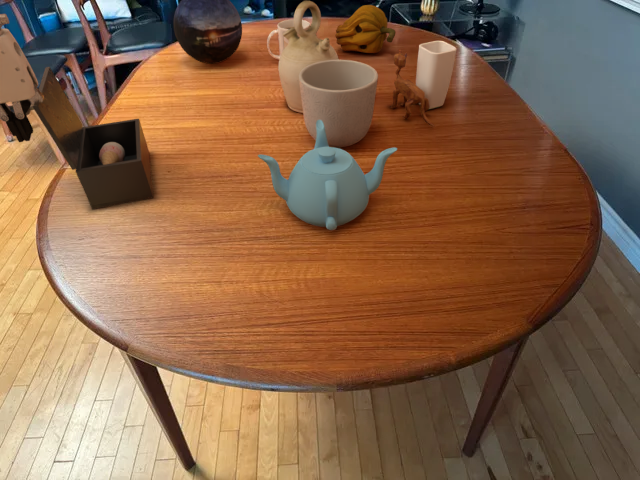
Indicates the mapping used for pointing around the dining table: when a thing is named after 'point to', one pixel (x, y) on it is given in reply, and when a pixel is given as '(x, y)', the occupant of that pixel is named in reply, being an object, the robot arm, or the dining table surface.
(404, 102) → the cat figurine
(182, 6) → the decorative sphere
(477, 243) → the dining table surface
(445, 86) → the cup
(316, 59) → the jug
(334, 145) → the planter
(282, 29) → the mug
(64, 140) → the bin lid
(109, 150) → the ice cream cone
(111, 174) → the bin
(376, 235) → the dining table surface
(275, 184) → the teapot
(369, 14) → the fruit
